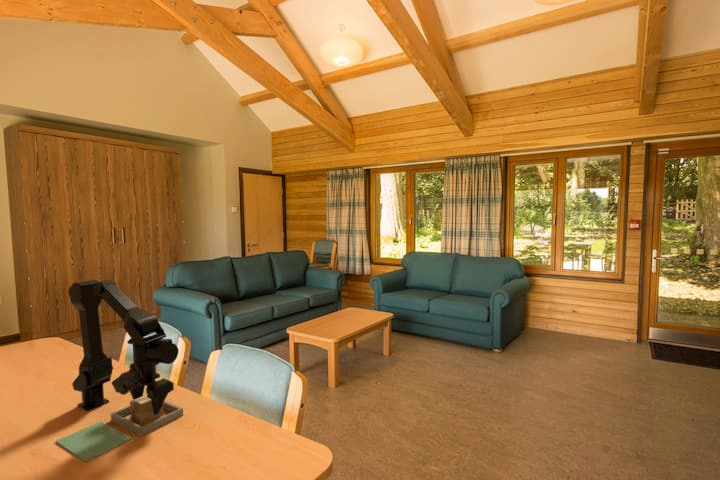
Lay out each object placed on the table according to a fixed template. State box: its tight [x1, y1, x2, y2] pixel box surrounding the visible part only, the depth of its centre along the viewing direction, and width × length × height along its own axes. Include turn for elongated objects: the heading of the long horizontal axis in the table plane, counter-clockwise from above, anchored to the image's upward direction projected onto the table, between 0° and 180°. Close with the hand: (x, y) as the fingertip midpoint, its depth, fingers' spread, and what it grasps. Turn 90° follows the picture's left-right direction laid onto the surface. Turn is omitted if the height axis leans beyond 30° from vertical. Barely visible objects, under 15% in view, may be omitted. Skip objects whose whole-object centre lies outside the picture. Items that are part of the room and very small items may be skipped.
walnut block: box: [129, 393, 165, 426], centre depth 114 cm, size 5×7×6 cm
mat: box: [55, 420, 132, 463], centre depth 103 cm, size 16×11×1 cm
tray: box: [110, 400, 184, 437], centre depth 114 cm, size 16×13×2 cm
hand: (147, 410), depth 114 cm, fingers open, 9 cm apart
